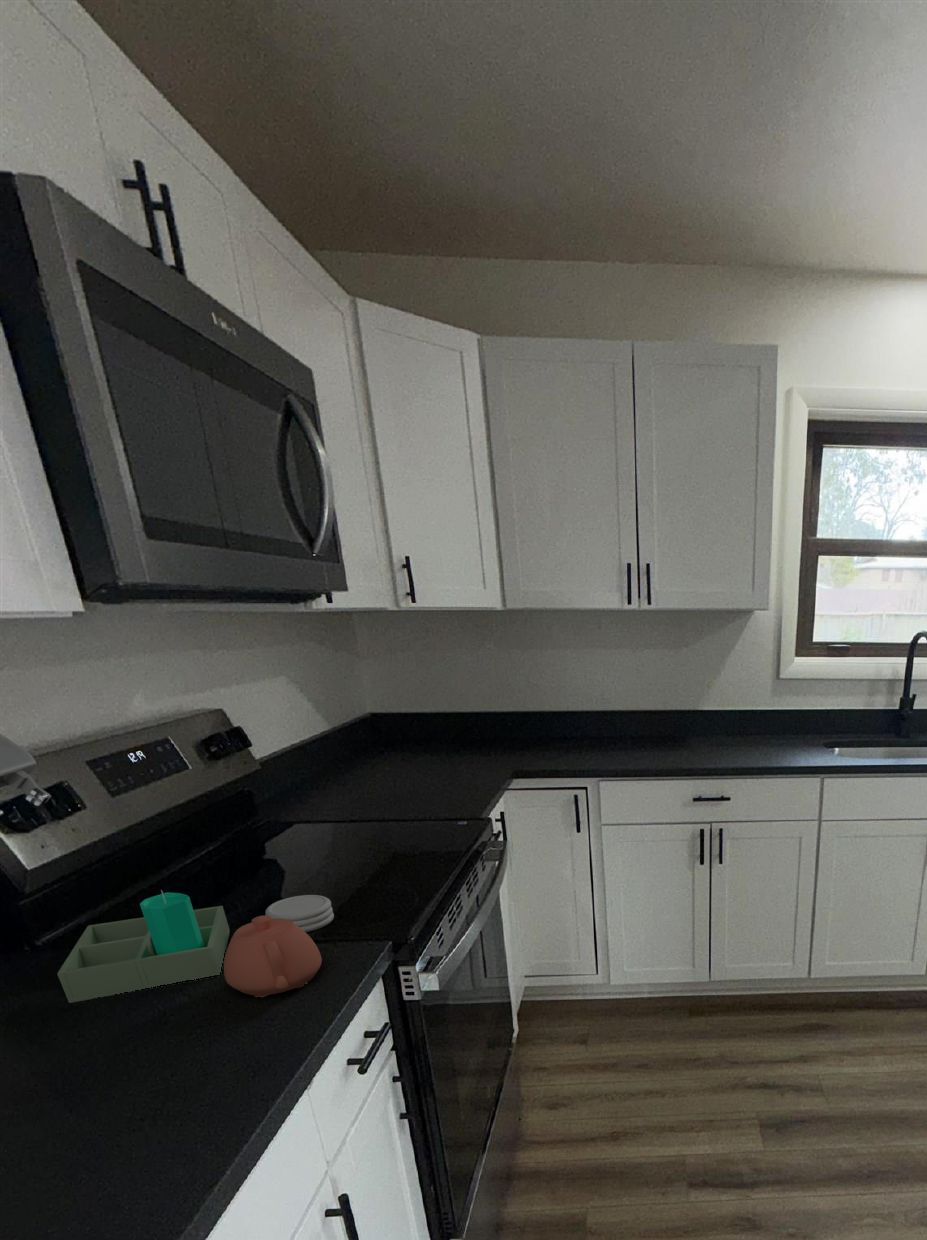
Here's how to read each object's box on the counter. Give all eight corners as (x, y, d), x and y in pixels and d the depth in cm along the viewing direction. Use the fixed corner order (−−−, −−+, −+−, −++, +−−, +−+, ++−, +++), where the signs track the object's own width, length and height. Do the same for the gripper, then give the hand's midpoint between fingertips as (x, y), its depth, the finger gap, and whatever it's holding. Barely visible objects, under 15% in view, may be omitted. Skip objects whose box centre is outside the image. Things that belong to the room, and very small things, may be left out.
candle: (164, 961, 113) (139, 887, 108) (210, 953, 115) (188, 880, 110) (159, 977, 108) (132, 900, 103) (207, 968, 110) (183, 893, 105)
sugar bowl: (316, 956, 116) (302, 895, 111) (335, 992, 105) (320, 926, 101) (225, 978, 109) (206, 913, 105) (236, 1018, 99) (215, 948, 94)
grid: (69, 1003, 103) (57, 973, 101) (97, 952, 117) (87, 925, 116) (220, 975, 110) (212, 947, 108) (229, 931, 125) (222, 905, 123)
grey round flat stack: (255, 931, 124) (250, 912, 123) (300, 909, 133) (296, 891, 132) (304, 938, 122) (299, 919, 120) (347, 915, 130) (343, 897, 129)
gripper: (-154, 731, 84) (-22, 812, 89) (-24, 707, 102) (80, 776, 107) (-181, 772, 85) (-48, 850, 90) (-47, 742, 103) (57, 808, 109)
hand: (22, 810), depth 99 cm, fingers open, 8 cm apart
